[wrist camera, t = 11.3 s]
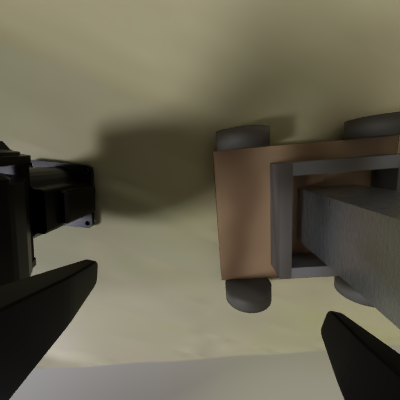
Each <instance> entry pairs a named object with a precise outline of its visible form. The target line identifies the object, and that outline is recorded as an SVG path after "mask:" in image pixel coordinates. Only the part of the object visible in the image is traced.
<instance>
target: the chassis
mask: <svg viewBox="0 0 400 400" xmlns="http://www.w3.org/2000/svg"><path fill="white" fill-rule="evenodd" d="M399 135H400V112H393V113H386V114H379V115H373V116H367V117H362V118H357V119H353V120H349V121H346V122H344V133H343V140H337V141H326V142H314V143H303V144H291V145H280V146H270V126H267V125H251V126H241V127H234V128H228V129H223V130H220V131H217V132H216V142H217V151H213V162H214V177H215V191H216V206H217V221H218V236H219V250H220V265H221V276H222V280H226V282H225V284H226V298H227V301H228V303H229V304H230V305H231V306H232V307H233V308H235V309H237V310H239V311H242V312H246V313H258V312H261V311H264V310H265V309H267V308H268V307H269V306H270V304H271V283H270V281H269V279H268V278H271V277H279V278H280V279H290V278H308V277H327V276H335V279H334V286H335V289H336V290H337V291H338V292H339V293H340V294H341V295H343V296H344V297H346V298H347V299H349V300H351V301H353V302H356V303H359V304H362V305H365V306H370V307H374V306H373V305H372V304H371V303H369V302H368V301H367V300H366V299H365V298H364V297H363V296H361V295H360V294H359V293H358V292H357V291H356V290H355V289H354V288H352V287H351V286H350V285H349V284H348V283H347V282H346V281H344V280H343V279H342V278H341V277H340V276H339V275H338V274H337V273H335V272H334V271H333V270H332V269H331V268H330V267H329V266H327V265H326V264H325V263H324V262H323V261H322V260H321V259H320V258H318V257H317V256H316V255H315V254H314V253H313V252H312V251H310V250H309V249H308V248H307V247H306V246H305V245H304V244H302V243H301V242H300V241H299V240H298V239H297V216H298V188H304V187H318V186H331V185H345V184H358V185H364V186H370V187H376V188H382V189H388V190H394V191H400V154H397V149H398V140H399ZM267 146H268V147H267Z"/></svg>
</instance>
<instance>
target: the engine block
mask: <svg viewBox="0 0 400 400" xmlns="http://www.w3.org/2000/svg"><path fill="white" fill-rule="evenodd" d="M297 239H298V240H299V241H300V242H301V243H302V244H304V245H305V246H306V247H307V248H308V249H309V250H310V251H312V252H313V253H314V254H315V255H316V256H317V257H318V258H320V259H321V260H322V261H323V262H324V263H325V264H326V265H327V266H329V267H330V268H331V269H332V270H333V271H334V272H335V273H337V274H338V275H339V276H340V277H341V278H342V279H343V280H344V281H346V282H347V283H348V284H349V285H350V286H351V287H352V288H354V289H355V290H356V291H357V292H358V293H359V294H360V295H361V296H363V297H364V298H365V299H366V300H367V301H368V302H369V303H371V304H372V305H373V306H374V307H375V308H376V309H377V310H379V311H380V312H381V313H382V314H383V315H384V316H385V317H386V318H388V319H389V320H390V321H391V322H392V323H393V324H394V325H396V326H397V327H398V328H399V329H400V191H394V190H388V189H382V188H376V187H370V186H364V185H358V184H345V185H331V186H318V187H304V188H298V216H297Z"/></svg>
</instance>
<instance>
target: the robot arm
mask: <svg viewBox="0 0 400 400" xmlns="http://www.w3.org/2000/svg"><path fill="white" fill-rule="evenodd" d="M32 163H33V165H34V166H32ZM86 168H88V170H89V171H88V172H86ZM94 211H95V187H94V183H93V168H92V167H91V166H90V165H82V164H72V163H61V162H51V161H40V160H31V156H30V155H24V154H20V152H17V151H12V150H10V149H9V148H8V147H7V146H6V145H5V143H4V142H3V141H0V400H9V399H10V398H11V396H12V395H13V394H14V393H15V391H16V390H17V389H18V388H19V386H20V385H21V384H22V383H23V381H24V380H25V379H26V378H27V376H28V375H29V374H30V373H31V371H32V370H33V369H34V368H35V366H36V365H37V364H38V363H39V361H40V360H41V359H42V358H43V356H44V355H45V354H46V353H47V351H48V350H49V349H50V348H51V346H52V345H53V344H54V343H55V341H56V340H57V339H58V338H59V336H60V335H61V334H62V333H63V331H64V330H65V329H66V327H67V326H68V325H69V324H70V322H71V321H72V319H73V318H74V316H75V315H76V313H77V312H78V310H79V309H80V307H81V306H82V304H83V303H84V301H85V300H86V298H87V297H88V295H89V294H90V292H91V291H92V289H93V288H94V286H95V284H96V281H97V268H98V264H97V262H96V261H92V260H83V261H80V262H76V263H73V264H70V265H67V266H63V267H60V268H57V269H54V270H50V271H47V272H44V273H41V274H37V275H34V276H31V273H32V269H33V267H34V266H35V265H36V258H35V257H34V246H33V238H35V237H38V236H40V235H42V234H46V233H48V232H50V231H52V230H55V229H57V228H59V227H61V226H63V225H65V226H75V227H85V228H90V227H91V226H93V225H94ZM87 221H89V222H90V224H88V223H87ZM30 276H31V277H30ZM321 335H322V338H323V341H324V344H325V347H326V350H327V353H328V356H329V359H330V362H331V365H332V368H333V371H334V373H335V376H336V379H337V382H338V384H339V387H340V390H341V392H342V395H343V397H344V399H345V400H400V354H399V353H397V352H396V351H395V350H393V349H392V348H390V347H389V346H388V345H386V344H385V343H383V342H382V341H380V340H379V339H378V338H376V337H375V336H373V335H372V334H370V333H369V332H368V331H366V330H365V329H363V328H362V327H361V326H359V325H358V324H356V323H355V322H353V321H352V320H351V319H349V318H348V317H346V316H345V315H344V314H342V313H339V312H334V311H329V312H328V313H327V315H326V317H325V320H324V323H323V325H322V328H321Z"/></svg>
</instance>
